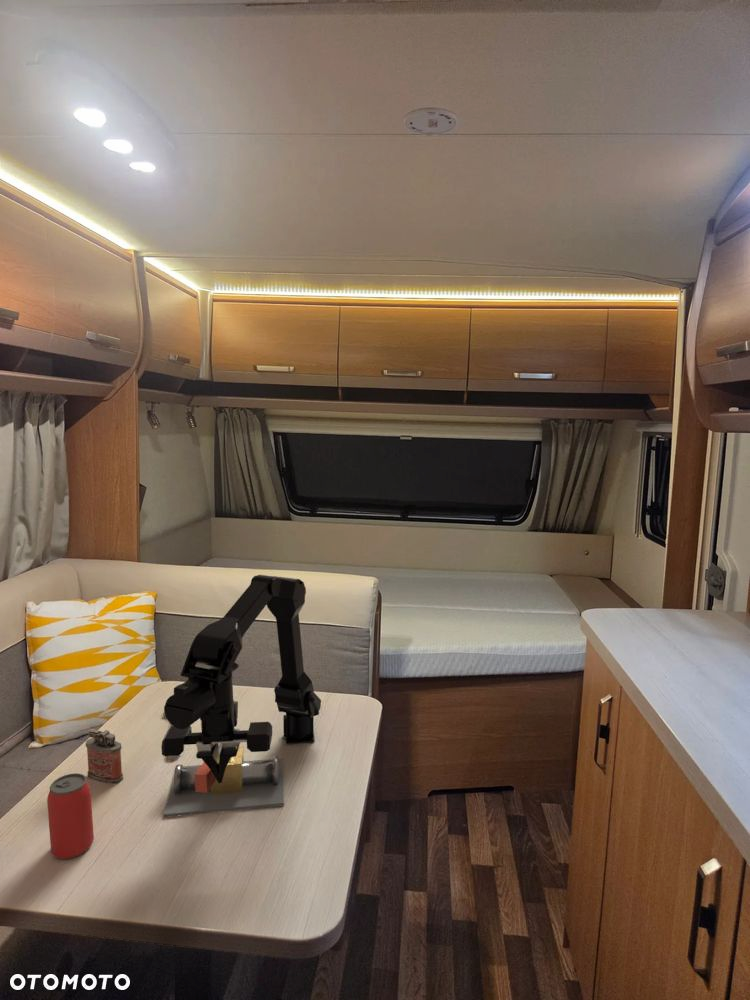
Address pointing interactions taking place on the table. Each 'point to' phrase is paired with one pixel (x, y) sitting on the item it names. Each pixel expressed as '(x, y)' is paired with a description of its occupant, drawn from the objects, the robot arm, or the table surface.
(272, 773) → the valve body
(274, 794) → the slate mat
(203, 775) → the lever
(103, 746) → the lighter
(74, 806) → the beer can
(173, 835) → the table surface
